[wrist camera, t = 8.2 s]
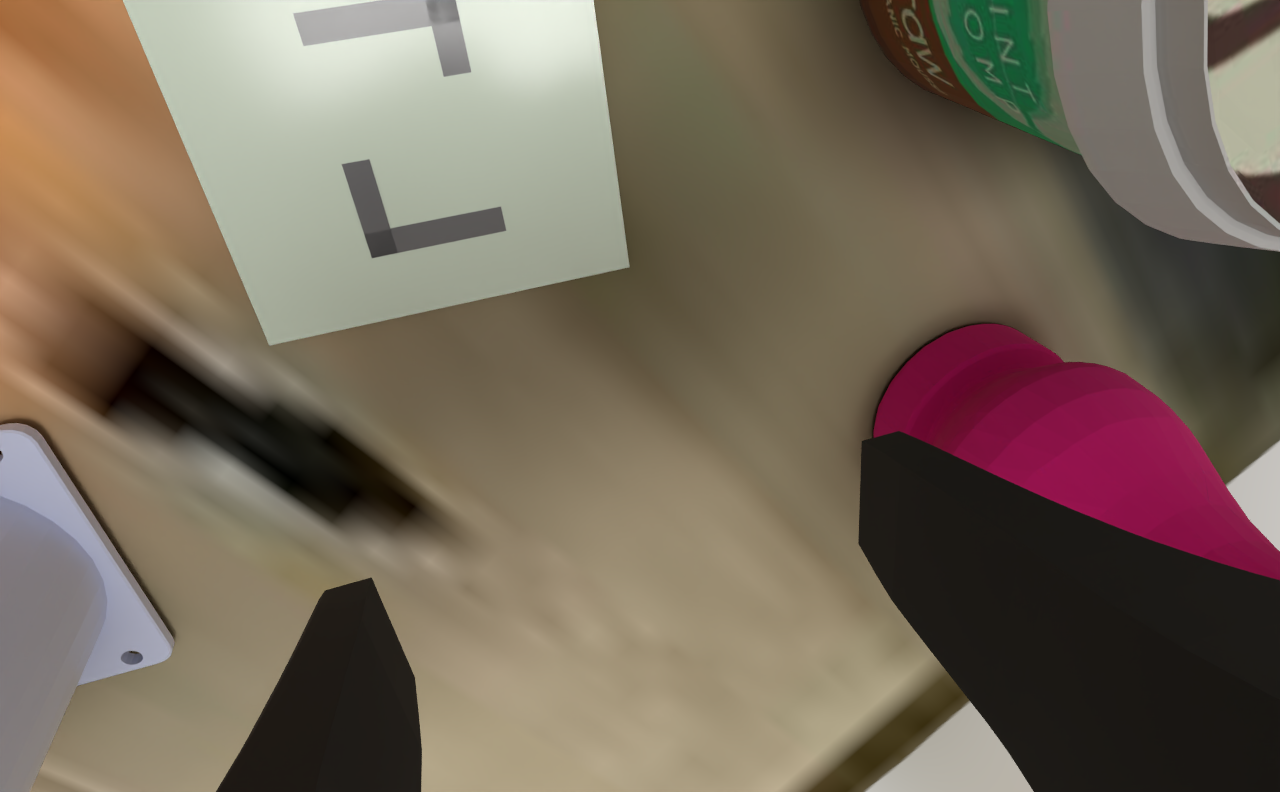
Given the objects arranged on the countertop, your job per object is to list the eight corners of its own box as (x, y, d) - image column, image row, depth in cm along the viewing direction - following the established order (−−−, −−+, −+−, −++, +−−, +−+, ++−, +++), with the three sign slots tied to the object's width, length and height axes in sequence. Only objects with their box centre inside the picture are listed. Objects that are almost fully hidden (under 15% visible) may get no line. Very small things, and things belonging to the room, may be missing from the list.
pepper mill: (1088, 354, 26) (2310, 1061, 9) (958, 516, 28) (1754, 1313, 12) (951, 271, 23) (2438, 1122, 6) (816, 461, 25) (1637, 1455, 8)
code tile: (271, 341, 19) (269, 345, 18) (85, -98, 14) (80, -98, 14) (627, 263, 20) (629, 267, 20) (570, -157, 15) (572, -158, 15)
